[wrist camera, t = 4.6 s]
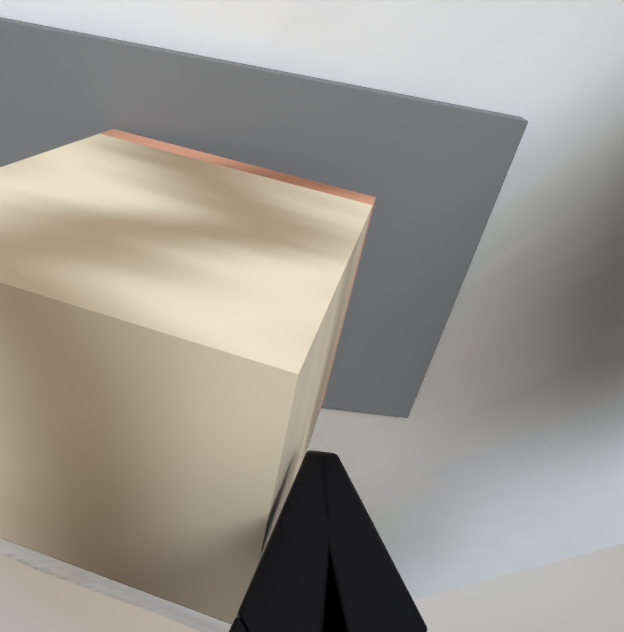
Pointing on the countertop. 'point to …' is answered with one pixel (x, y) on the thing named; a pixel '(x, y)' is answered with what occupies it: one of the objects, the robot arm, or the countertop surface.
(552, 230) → the countertop surface
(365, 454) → the countertop surface
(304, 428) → the birch cube
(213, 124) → the charcoal mat
